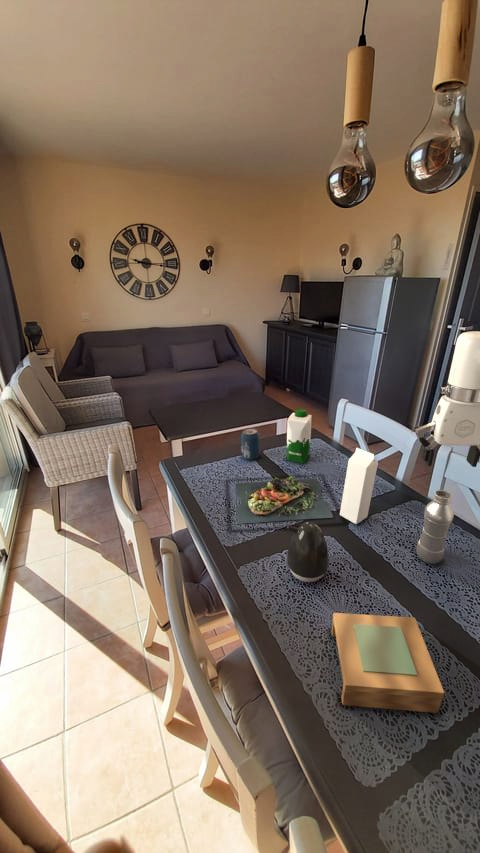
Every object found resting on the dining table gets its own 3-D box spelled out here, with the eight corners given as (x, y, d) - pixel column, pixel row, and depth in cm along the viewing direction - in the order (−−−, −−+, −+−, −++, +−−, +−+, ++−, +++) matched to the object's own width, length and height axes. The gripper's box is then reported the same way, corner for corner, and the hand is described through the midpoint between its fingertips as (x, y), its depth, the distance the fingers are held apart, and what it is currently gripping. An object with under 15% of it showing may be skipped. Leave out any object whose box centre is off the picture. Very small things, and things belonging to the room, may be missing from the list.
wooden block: (410, 637, 74) (415, 616, 72) (437, 714, 62) (444, 692, 59) (331, 632, 76) (333, 611, 74) (342, 706, 63) (345, 684, 61)
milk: (356, 524, 106) (368, 457, 98) (339, 515, 111) (349, 449, 103) (367, 517, 110) (380, 452, 102) (350, 508, 114) (361, 444, 106)
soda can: (258, 453, 150) (257, 426, 145) (259, 461, 143) (259, 434, 138) (241, 454, 149) (240, 427, 144) (242, 462, 143) (241, 435, 138)
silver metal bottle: (442, 554, 95) (459, 490, 87) (441, 571, 90) (458, 505, 82) (416, 545, 98) (429, 483, 90) (412, 562, 93) (427, 497, 85)
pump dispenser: (286, 556, 96) (287, 509, 90) (326, 559, 95) (330, 512, 89) (284, 586, 87) (285, 537, 81) (328, 591, 86) (333, 541, 79)
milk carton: (311, 455, 147) (313, 409, 138) (305, 466, 139) (308, 418, 131) (290, 451, 150) (291, 407, 142) (283, 462, 142) (285, 415, 134)
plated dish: (230, 533, 105) (229, 513, 102) (226, 482, 131) (225, 464, 128) (347, 526, 107) (350, 505, 104) (320, 477, 133) (322, 459, 130)
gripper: (430, 398, 73) (415, 471, 80) (521, 399, 71) (497, 473, 78) (416, 387, 80) (404, 455, 87) (499, 387, 78) (480, 456, 85)
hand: (448, 463), depth 83 cm, fingers open, 9 cm apart
